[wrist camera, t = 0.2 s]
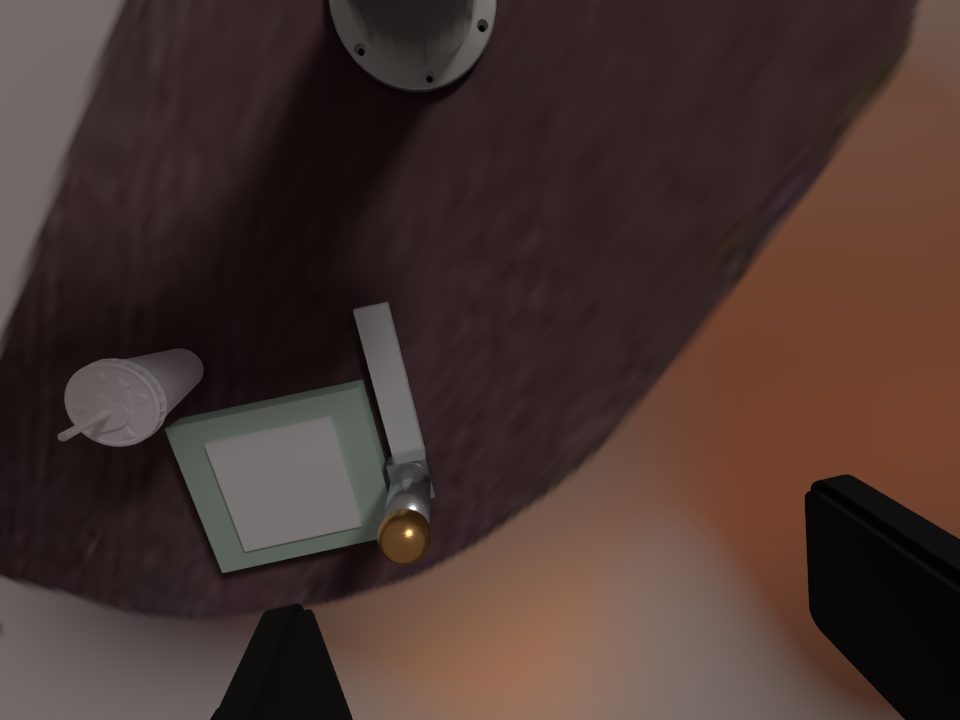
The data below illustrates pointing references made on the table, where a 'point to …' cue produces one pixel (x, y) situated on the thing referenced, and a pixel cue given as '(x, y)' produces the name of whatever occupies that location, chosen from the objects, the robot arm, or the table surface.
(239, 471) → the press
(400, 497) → the lever
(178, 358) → the smoothie
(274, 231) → the table surface
